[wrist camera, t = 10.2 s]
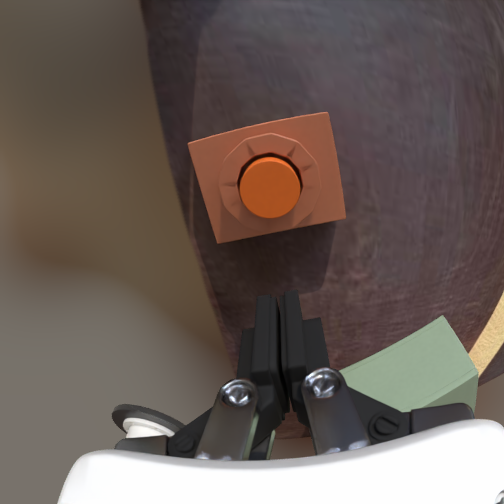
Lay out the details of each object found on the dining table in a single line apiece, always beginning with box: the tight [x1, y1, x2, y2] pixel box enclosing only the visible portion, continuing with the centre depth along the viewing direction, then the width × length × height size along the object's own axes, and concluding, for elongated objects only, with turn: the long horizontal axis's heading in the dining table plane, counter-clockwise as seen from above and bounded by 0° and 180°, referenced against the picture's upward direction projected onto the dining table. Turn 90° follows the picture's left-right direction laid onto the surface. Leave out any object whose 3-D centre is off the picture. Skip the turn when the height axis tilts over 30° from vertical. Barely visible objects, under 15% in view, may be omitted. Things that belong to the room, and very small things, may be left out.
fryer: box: [339, 315, 479, 413], centre depth 26 cm, size 15×13×10 cm
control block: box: [188, 112, 346, 244], centre depth 19 cm, size 10×8×4 cm
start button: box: [240, 157, 300, 218], centre depth 17 cm, size 4×4×2 cm
